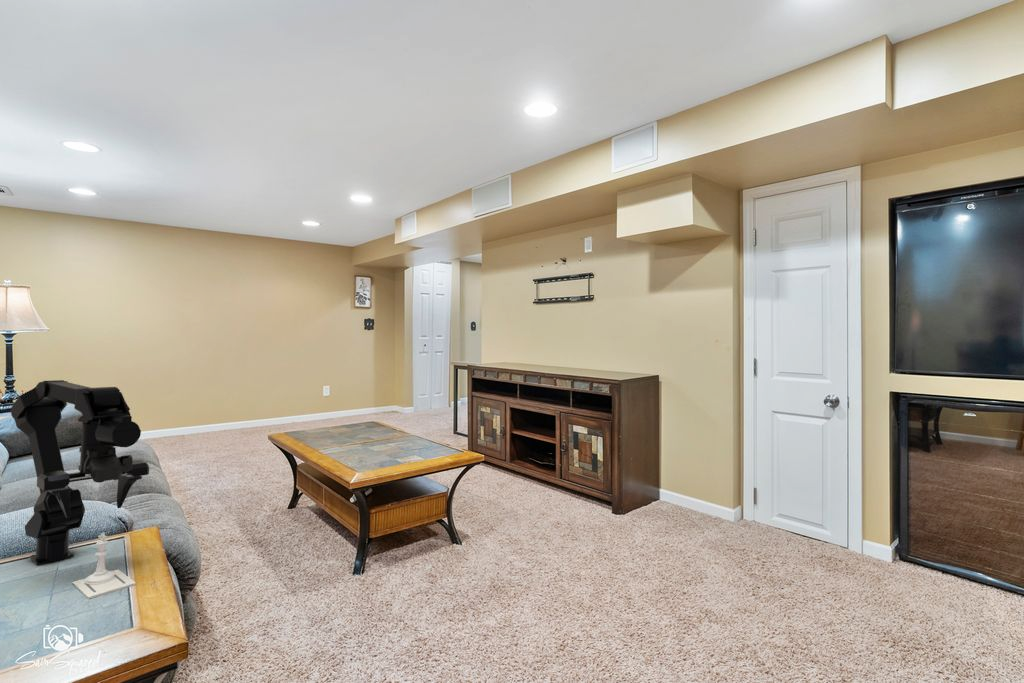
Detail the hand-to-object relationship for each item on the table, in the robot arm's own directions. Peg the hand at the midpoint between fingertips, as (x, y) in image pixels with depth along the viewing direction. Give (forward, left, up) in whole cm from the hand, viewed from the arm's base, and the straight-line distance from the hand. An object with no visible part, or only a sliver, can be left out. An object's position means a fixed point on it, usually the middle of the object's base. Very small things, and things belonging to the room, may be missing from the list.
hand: (94, 512), depth 112 cm
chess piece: (+7, 0, -13) cm, 15 cm away
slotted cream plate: (+9, 0, -13) cm, 16 cm away
